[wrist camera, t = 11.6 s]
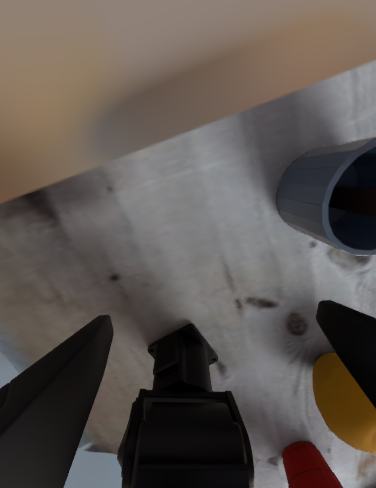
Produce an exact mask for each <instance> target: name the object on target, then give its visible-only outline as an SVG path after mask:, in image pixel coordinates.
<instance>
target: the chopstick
mask: <svg viewBox="0 0 376 488" xmlns="http://www.w3.org/2000/svg"><path fill="white" fill-rule="evenodd" d="M328 207H331V208H336V209H341V210H345V211H350V212H355V213H360V214H364V215H369V216H374V217H376V187H365V186H348V185H335V186H334V188H333V191H332V195H331V198H330V201H329V205H328Z"/></svg>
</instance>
